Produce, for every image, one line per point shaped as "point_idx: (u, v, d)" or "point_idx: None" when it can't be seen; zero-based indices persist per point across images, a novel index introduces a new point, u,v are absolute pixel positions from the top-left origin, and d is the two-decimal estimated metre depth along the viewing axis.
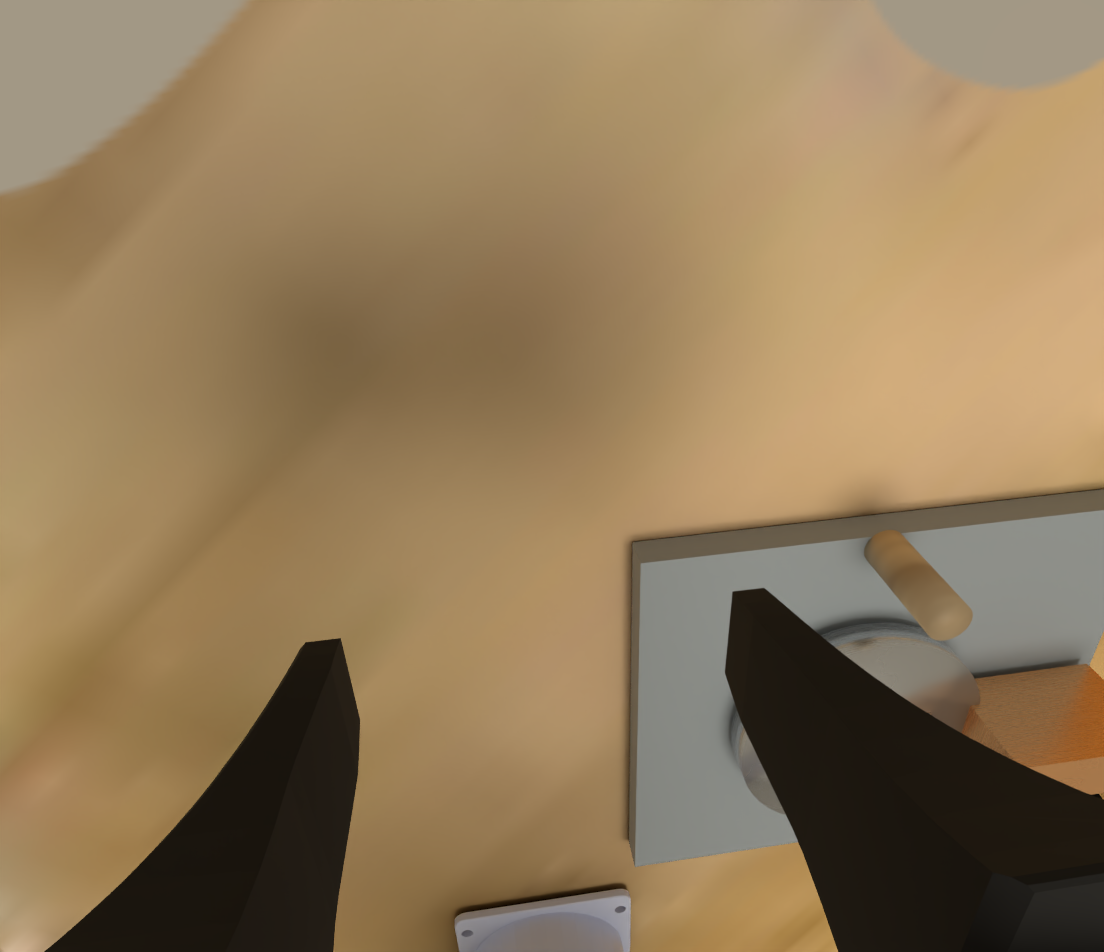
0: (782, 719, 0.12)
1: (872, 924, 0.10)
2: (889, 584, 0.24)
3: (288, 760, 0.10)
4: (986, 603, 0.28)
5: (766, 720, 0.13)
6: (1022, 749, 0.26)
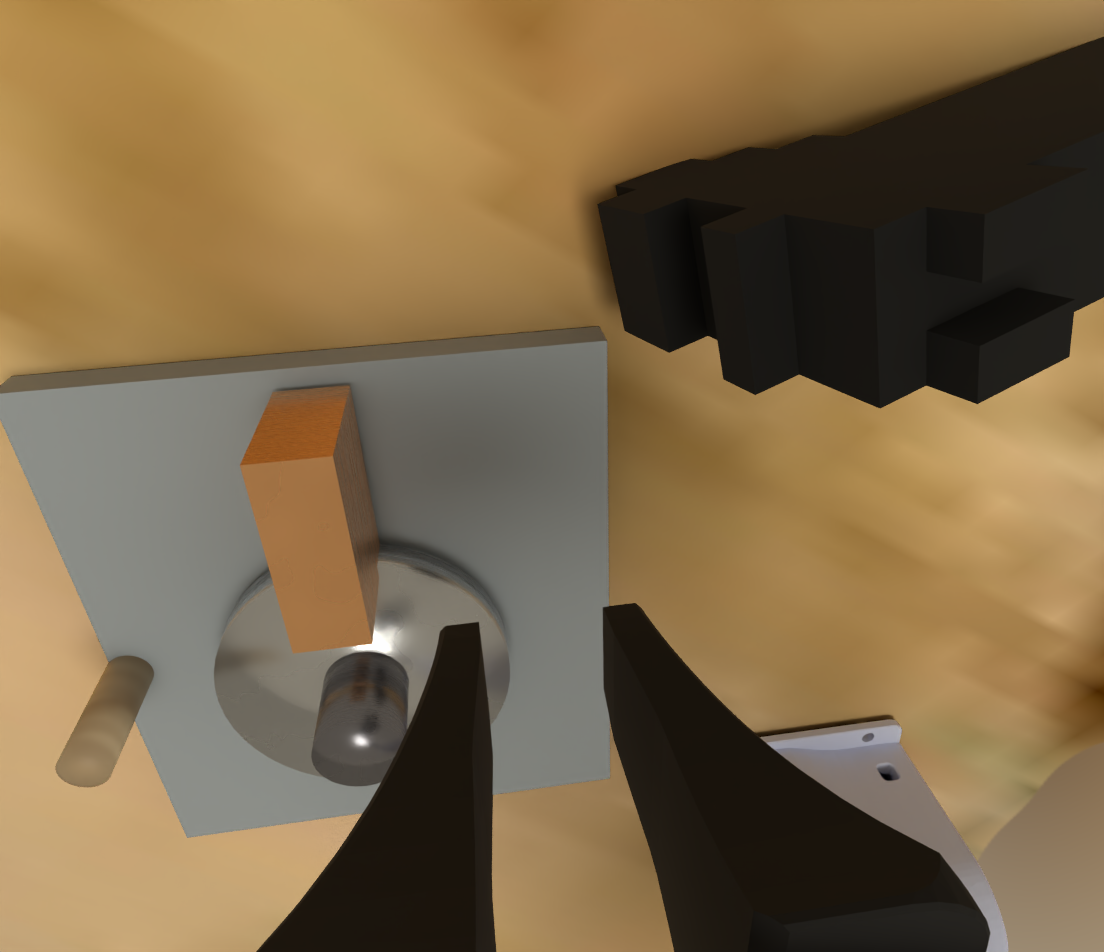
0: (637, 739, 0.12)
1: None
2: None
3: (465, 736, 0.11)
4: (191, 547, 0.23)
5: (628, 739, 0.13)
6: None
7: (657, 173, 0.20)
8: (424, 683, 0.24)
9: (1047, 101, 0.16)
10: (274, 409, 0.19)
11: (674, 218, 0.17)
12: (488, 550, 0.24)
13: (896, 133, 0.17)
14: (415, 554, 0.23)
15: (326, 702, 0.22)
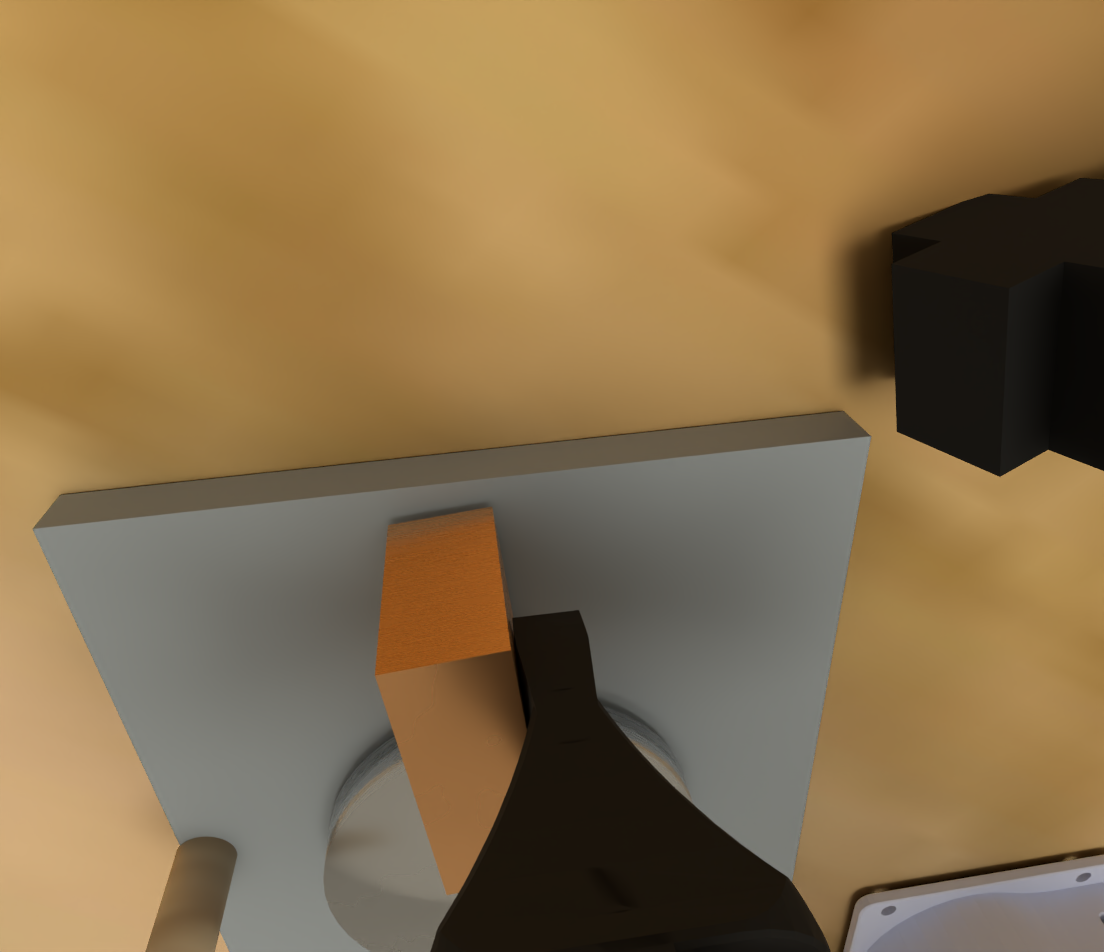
0: None
1: None
2: None
3: (592, 720, 0.11)
4: (295, 708, 0.17)
5: None
6: None
7: (951, 215, 0.14)
8: None
9: None
10: (398, 557, 0.14)
11: (1044, 292, 0.12)
12: (675, 696, 0.18)
13: None
14: None
15: None
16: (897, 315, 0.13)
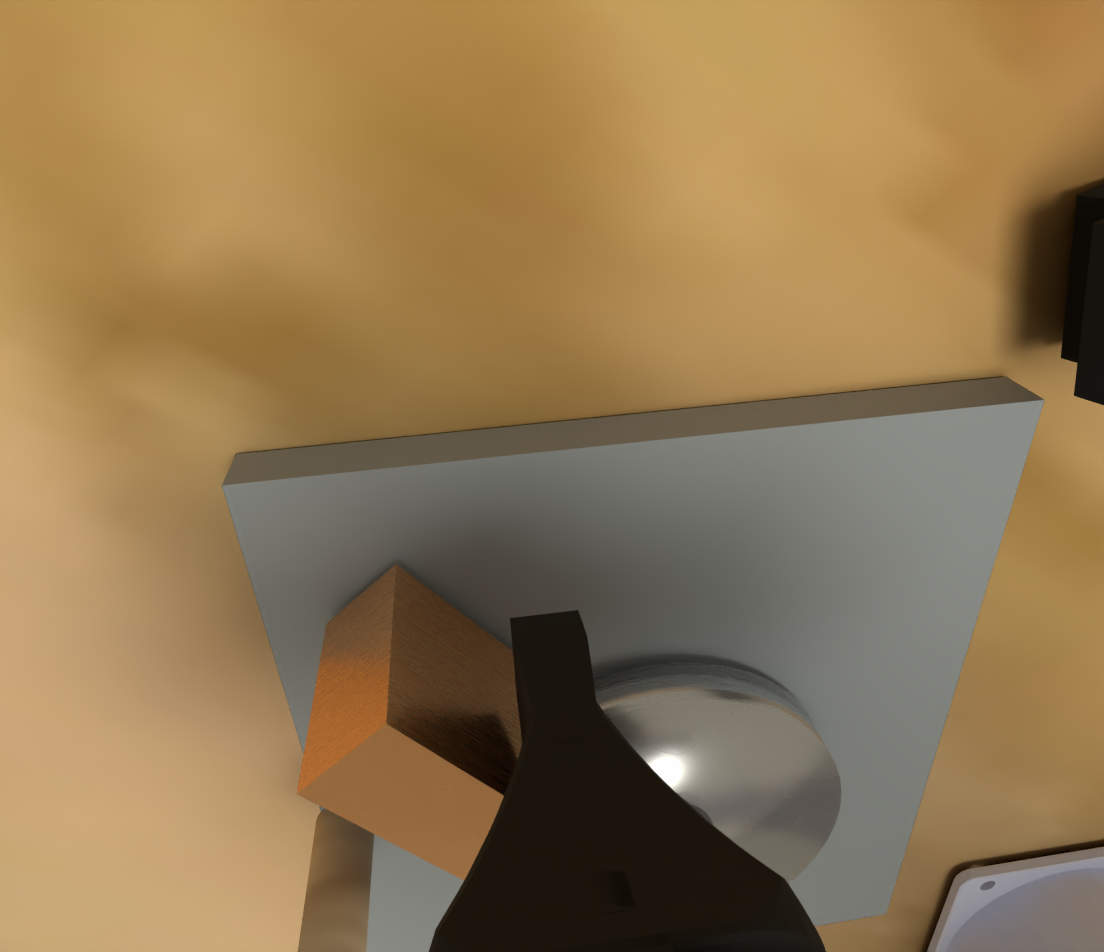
0: None
1: None
2: None
3: (591, 720, 0.11)
4: None
5: None
6: None
7: None
8: (726, 805, 0.18)
9: None
10: (328, 656, 0.14)
11: None
12: (819, 664, 0.18)
13: None
14: (613, 681, 0.17)
15: None
16: (1092, 276, 0.13)
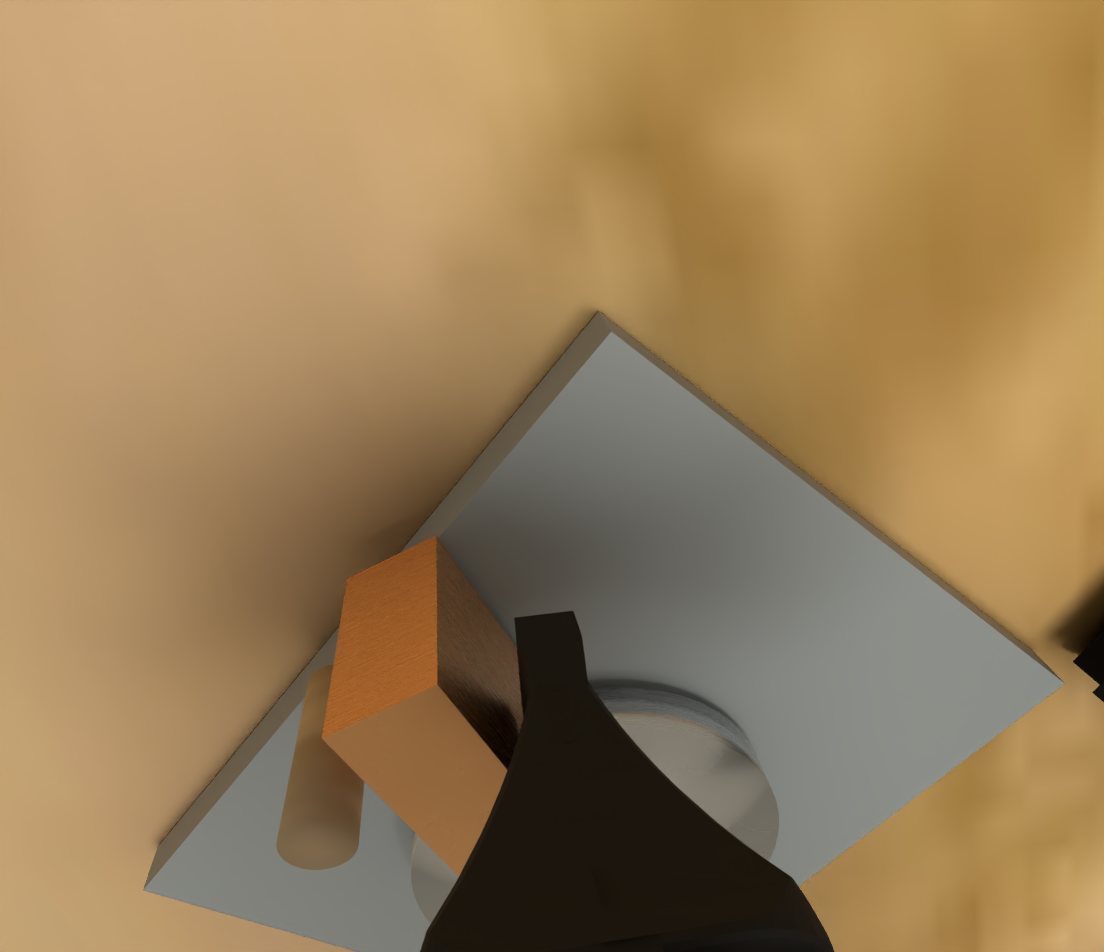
0: None
1: None
2: None
3: (585, 720, 0.11)
4: (575, 614, 0.17)
5: None
6: None
7: None
8: None
9: None
10: (352, 610, 0.14)
11: None
12: (789, 782, 0.21)
13: None
14: (600, 697, 0.17)
15: None
16: None
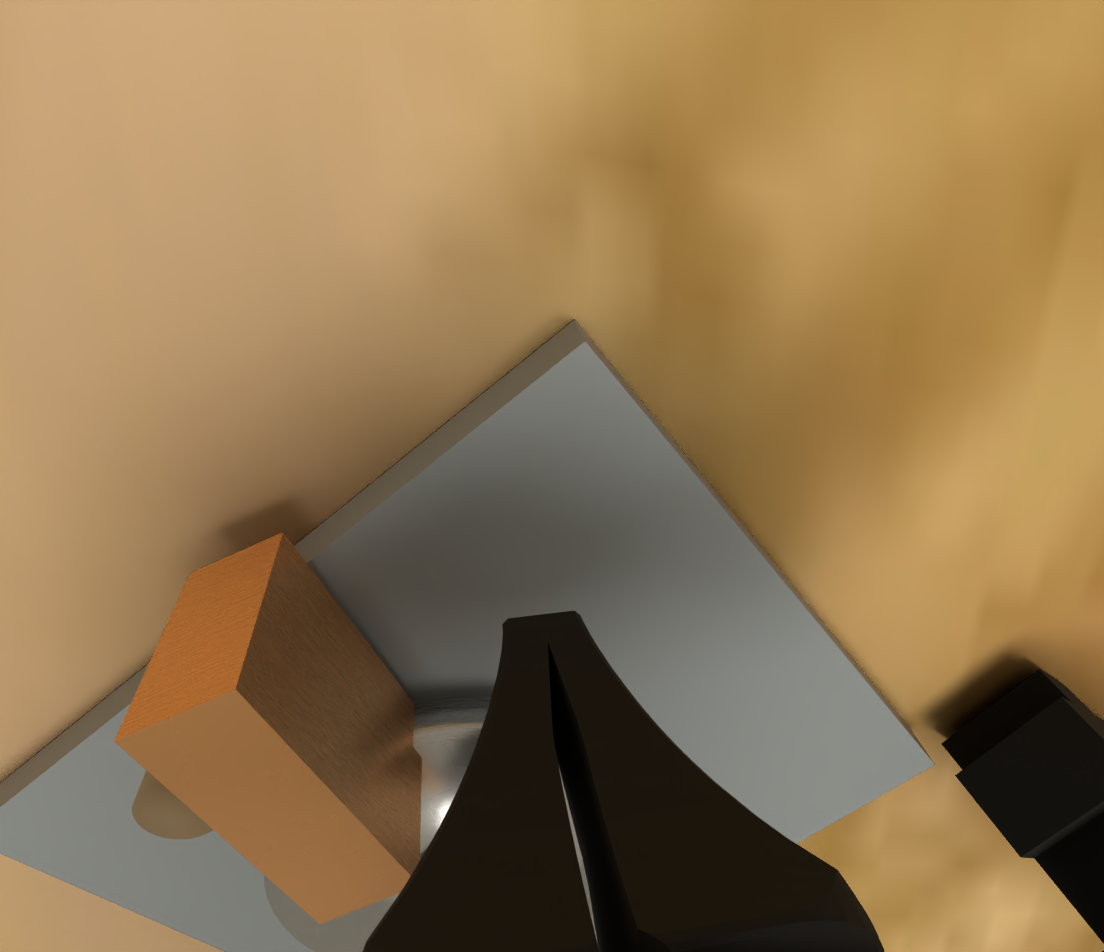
0: (568, 748, 0.12)
1: None
2: None
3: (544, 726, 0.11)
4: (489, 617, 0.16)
5: (562, 748, 0.13)
6: None
7: (1060, 685, 0.21)
8: None
9: None
10: (184, 607, 0.14)
11: None
12: None
13: None
14: (464, 705, 0.17)
15: None
16: (1034, 722, 0.19)
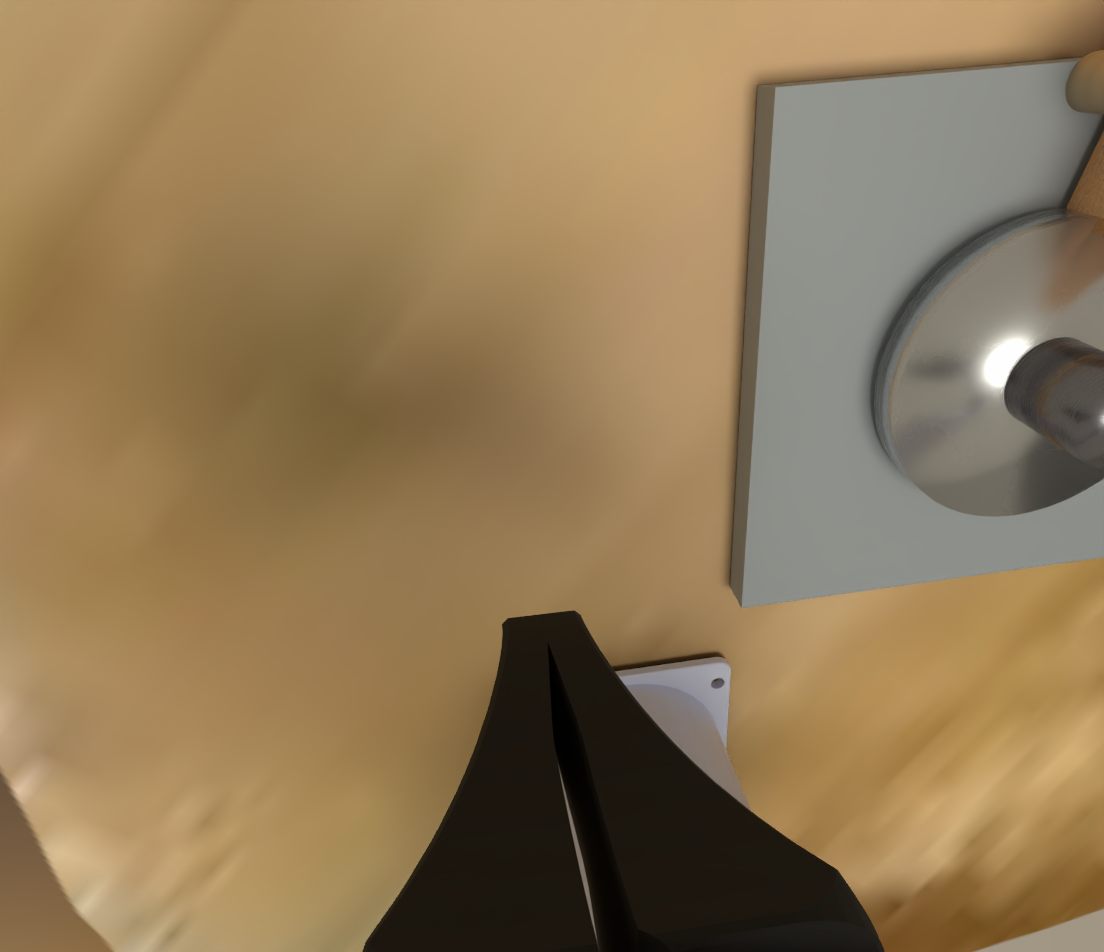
0: (568, 748, 0.12)
1: None
2: None
3: (544, 726, 0.11)
4: None
5: (562, 748, 0.13)
6: None
7: None
8: None
9: None
10: None
11: None
12: None
13: None
14: None
15: (1079, 365, 0.20)
16: None
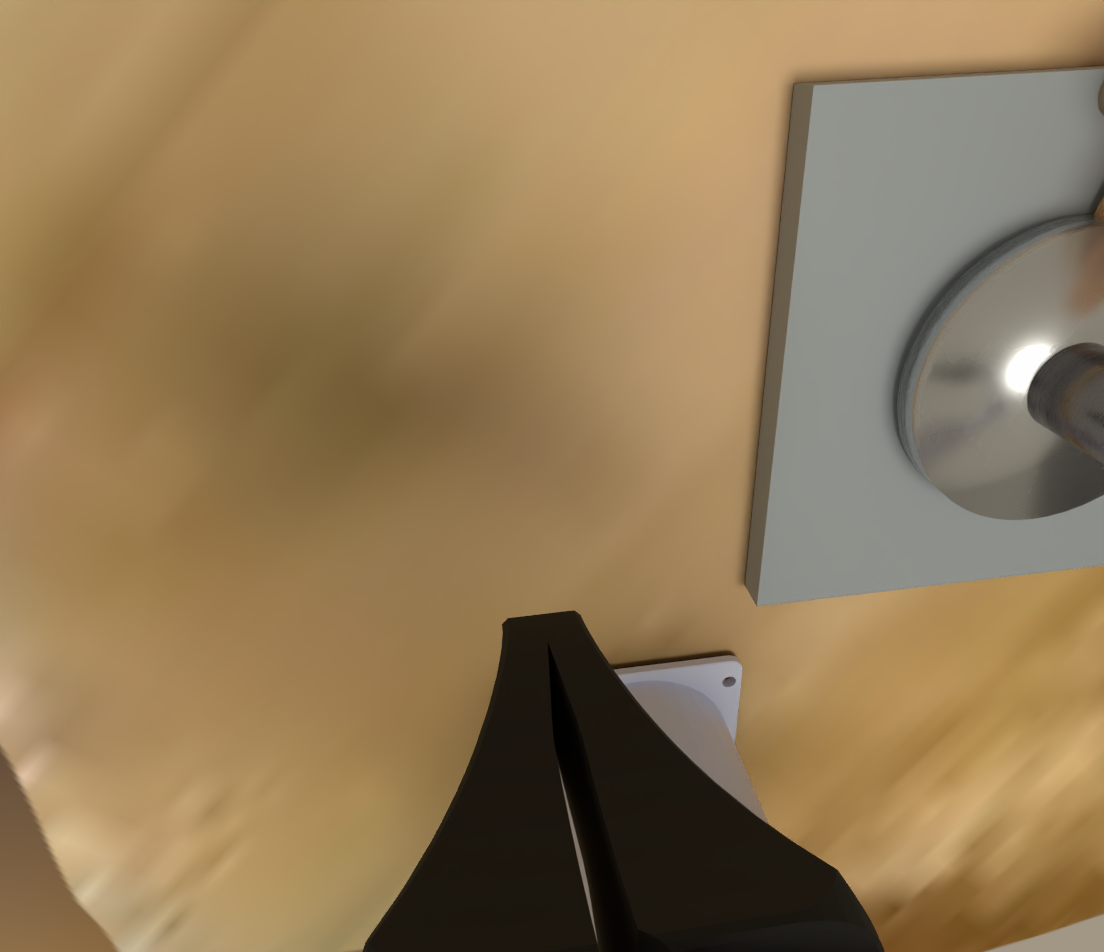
0: (568, 748, 0.12)
1: None
2: None
3: (544, 726, 0.11)
4: None
5: (562, 748, 0.13)
6: None
7: None
8: None
9: None
10: None
11: None
12: None
13: None
14: None
15: None
16: None
